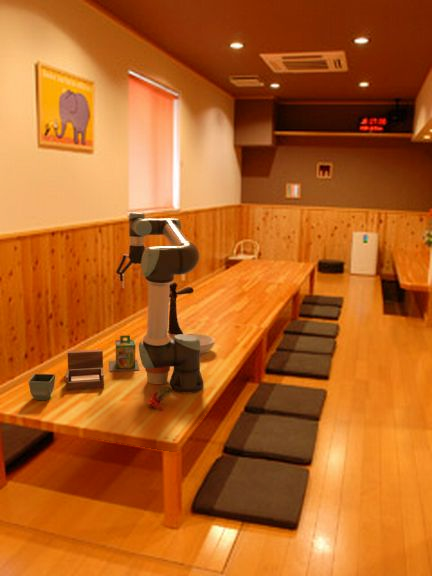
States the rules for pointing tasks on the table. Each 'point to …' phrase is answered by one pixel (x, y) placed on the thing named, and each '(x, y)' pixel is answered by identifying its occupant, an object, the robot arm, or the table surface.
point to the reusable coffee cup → (157, 375)
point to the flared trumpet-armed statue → (173, 320)
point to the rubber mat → (113, 368)
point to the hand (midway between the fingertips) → (137, 287)
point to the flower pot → (42, 386)
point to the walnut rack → (85, 369)
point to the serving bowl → (204, 342)
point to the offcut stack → (84, 378)
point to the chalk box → (125, 353)
